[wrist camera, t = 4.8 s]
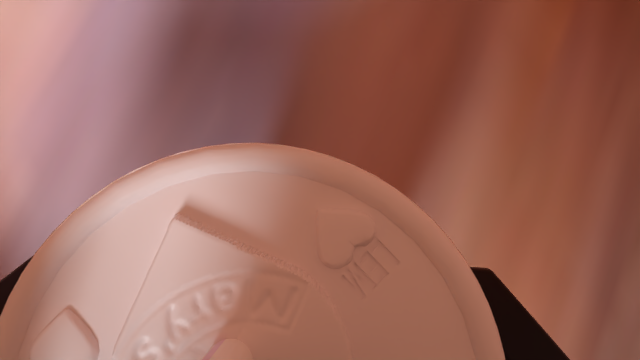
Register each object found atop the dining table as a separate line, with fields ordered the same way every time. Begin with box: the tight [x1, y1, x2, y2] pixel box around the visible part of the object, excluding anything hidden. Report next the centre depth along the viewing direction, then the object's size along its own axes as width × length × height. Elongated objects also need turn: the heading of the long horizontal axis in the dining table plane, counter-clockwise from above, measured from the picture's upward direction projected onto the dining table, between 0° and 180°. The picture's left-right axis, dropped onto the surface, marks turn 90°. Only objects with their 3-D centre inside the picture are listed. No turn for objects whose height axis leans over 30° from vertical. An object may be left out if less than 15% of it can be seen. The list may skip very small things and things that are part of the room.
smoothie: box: [0, 143, 505, 360], centre depth 9 cm, size 6×6×14 cm
